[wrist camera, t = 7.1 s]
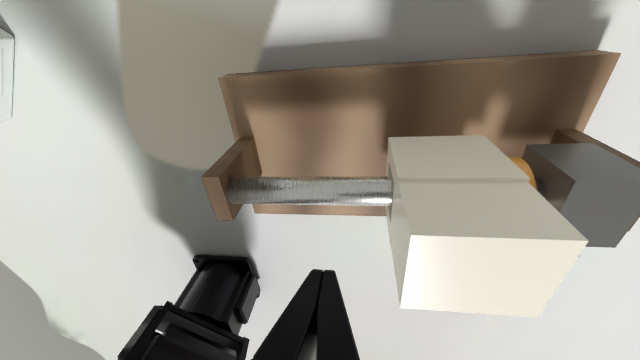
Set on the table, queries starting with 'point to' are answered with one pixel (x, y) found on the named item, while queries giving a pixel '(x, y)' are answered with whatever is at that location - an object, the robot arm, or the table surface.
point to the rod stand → (422, 120)
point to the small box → (6, 74)
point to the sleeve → (473, 229)
